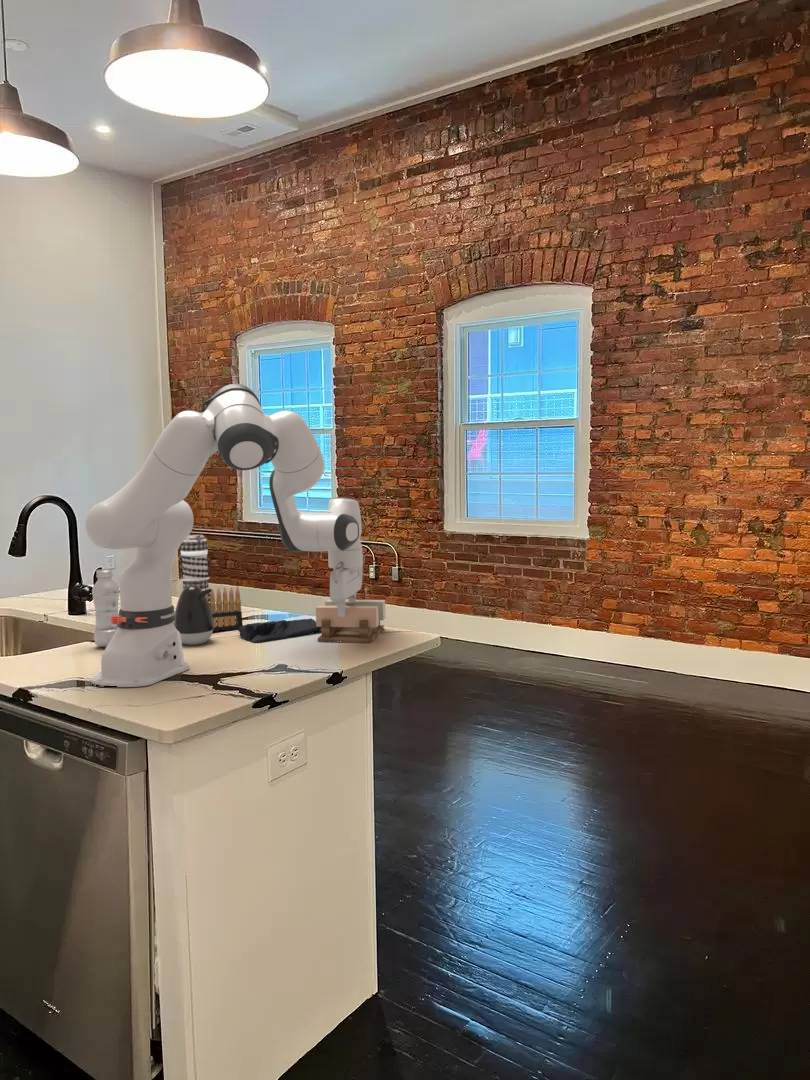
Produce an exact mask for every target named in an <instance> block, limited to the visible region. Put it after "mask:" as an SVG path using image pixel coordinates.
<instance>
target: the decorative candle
mask: <svg viewBox="0 0 810 1080" xmlns="http://www.w3.org/2000/svg"><path fill="white" fill-rule="evenodd" d="M207 541H208V539H207V538H206V536H205V535H203V534H189V535H188V536H187V537H186V538H185V539H184V541H183V542H182V543H181V545H180V548H181V549H180V554H178V557H179V559H178V562H180V564H179V568H180V571H179V573H180V574H181V575H182V576H180V577H181V578H180V579H181V581H182V587H183V588H182V591H183V590H184V588H186V587H187V586H190V585H196V586H198V587H200V588H201V589H202V591H203V590H205V589H209V588H210V587H209V584H210V583H209V580H210V578H211V574H209V573H210V572H211V570H210V569H209V568H208V567H210V566H211V563H210V560H211V558H210V557H208V554H209V549H208V548H207V547H208V545H207ZM208 602H209V605H210V593H209V594H208Z"/></svg>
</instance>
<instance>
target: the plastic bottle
mask: <svg viewBox="0 0 810 1080" xmlns="http://www.w3.org/2000/svg"><path fill="white" fill-rule="evenodd" d="M95 573H96V576H95V577H96V578H97V580H96V582H95V583H94V585H93V586H92V589H91V594H92V599H93V604H94V611H95V628H94V634H93V640H94V644H95V645H96V646H97V647H99V648H106V647H107V646H108V644H109V642H110V641H111V639H112V637H113V636H114V634H115V632H116V631H117V628H118V626H117V624H112V623H111V620H112V619H111V618H112V617H111V616H112V615H117V616H118V614H119V611H118V610H119V600H120V586H119V585H118V584H117V582H115V580H114V579H113V577H114V576H113V575H114V574H113V570H112V569H111V568H102V569H99V568H98V569H96V572H95Z"/></svg>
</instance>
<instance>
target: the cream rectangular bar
mask: <svg viewBox="0 0 810 1080" xmlns="http://www.w3.org/2000/svg"><path fill="white" fill-rule="evenodd" d="M347 603H348V599H346V603H345V606H347ZM324 606H337V605H336V601H331V599H327V600H325V601H324ZM355 606H378V611H379V620H380V621H384V620H386V618H387V617H386V599H356V601H355Z"/></svg>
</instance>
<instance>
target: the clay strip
mask: <svg viewBox="0 0 810 1080" xmlns="http://www.w3.org/2000/svg"><path fill="white" fill-rule="evenodd" d="M345 608H346V616H344V617H339V616H338V608H337V606H325V605H318V606H316V607H315V622H316V627H322V621H321V620H330V627H359V621H360V620H368V627H377V626H378V625H379V611H378V606H345Z"/></svg>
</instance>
